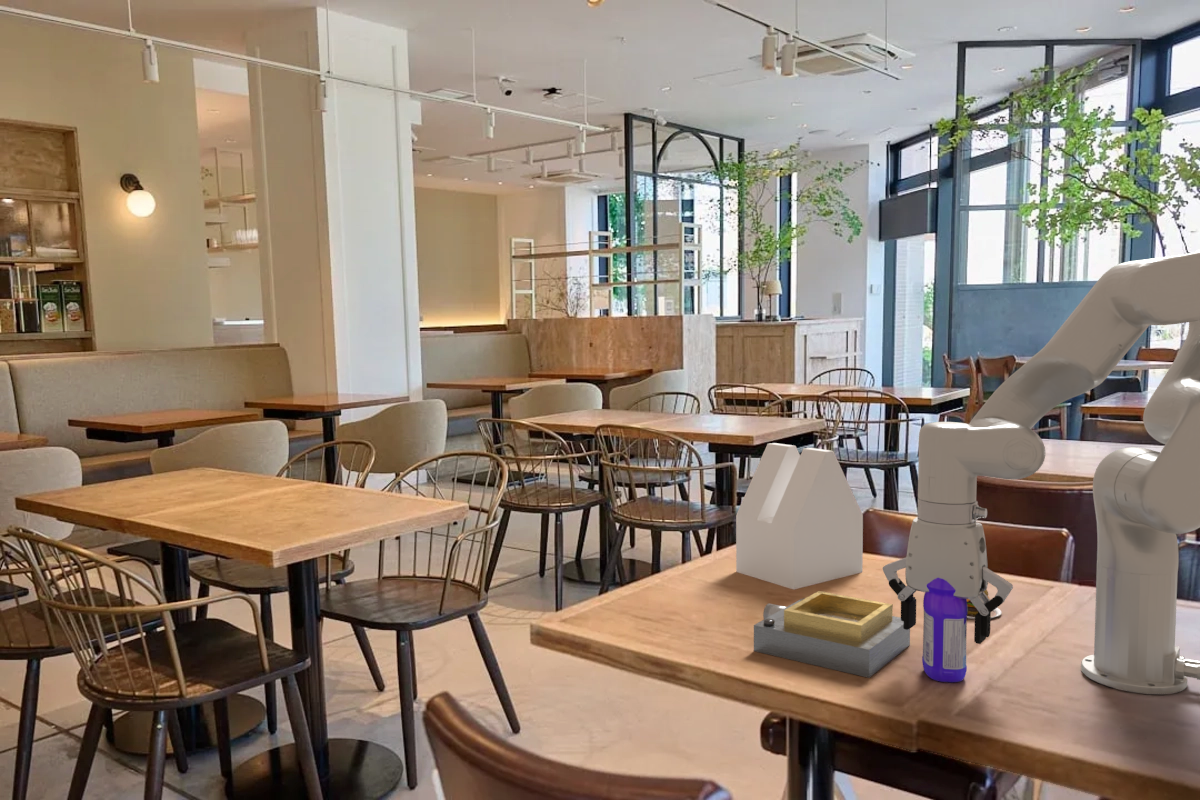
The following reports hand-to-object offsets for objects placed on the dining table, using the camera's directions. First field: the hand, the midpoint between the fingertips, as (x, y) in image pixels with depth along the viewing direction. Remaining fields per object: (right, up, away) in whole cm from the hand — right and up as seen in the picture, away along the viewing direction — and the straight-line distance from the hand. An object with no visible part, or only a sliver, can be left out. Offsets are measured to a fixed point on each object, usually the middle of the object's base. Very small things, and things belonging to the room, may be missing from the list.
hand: (944, 633), depth 127 cm
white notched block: (-8, -2, +54) cm, 55 cm away
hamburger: (+15, -4, +28) cm, 32 cm away
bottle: (0, -6, +1) cm, 6 cm away
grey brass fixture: (-14, -5, +13) cm, 20 cm away
